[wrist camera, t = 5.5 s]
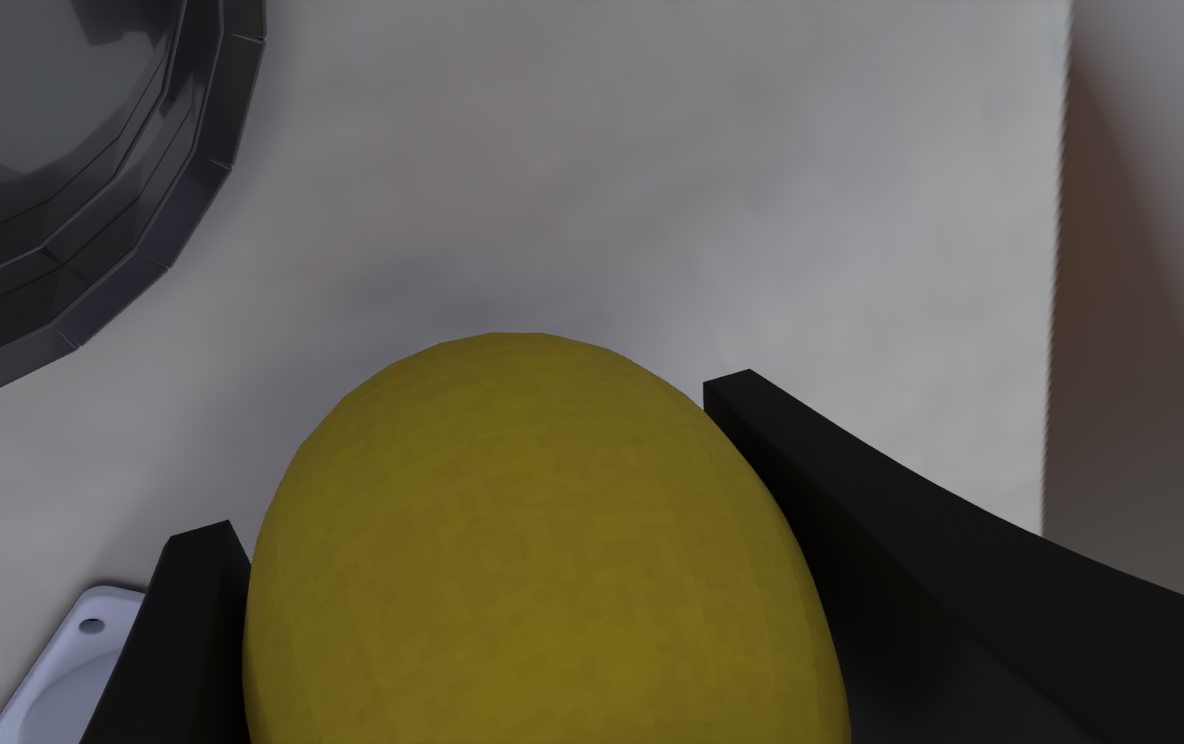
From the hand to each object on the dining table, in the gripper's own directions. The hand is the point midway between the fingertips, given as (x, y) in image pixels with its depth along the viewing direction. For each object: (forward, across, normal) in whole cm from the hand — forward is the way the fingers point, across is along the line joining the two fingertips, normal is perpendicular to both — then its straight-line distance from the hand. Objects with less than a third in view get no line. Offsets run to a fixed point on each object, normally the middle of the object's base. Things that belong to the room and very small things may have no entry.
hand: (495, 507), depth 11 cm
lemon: (+2, 0, 0) cm, 2 cm away
